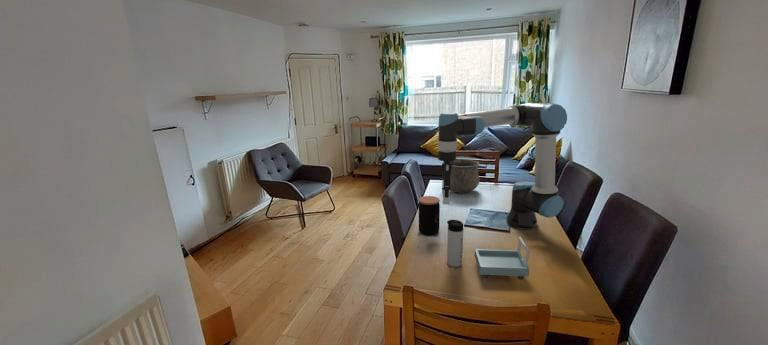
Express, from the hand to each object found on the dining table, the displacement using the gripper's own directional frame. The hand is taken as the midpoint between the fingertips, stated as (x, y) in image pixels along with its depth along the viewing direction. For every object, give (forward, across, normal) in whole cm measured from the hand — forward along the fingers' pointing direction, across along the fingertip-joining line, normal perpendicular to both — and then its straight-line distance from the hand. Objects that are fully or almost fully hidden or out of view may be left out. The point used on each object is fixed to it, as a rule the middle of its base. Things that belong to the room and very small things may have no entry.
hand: (445, 198), depth 137 cm
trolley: (+26, +12, +22) cm, 36 cm away
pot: (+26, -89, +14) cm, 94 cm away
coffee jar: (+26, -21, -7) cm, 35 cm away
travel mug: (+26, +10, +4) cm, 28 cm away
